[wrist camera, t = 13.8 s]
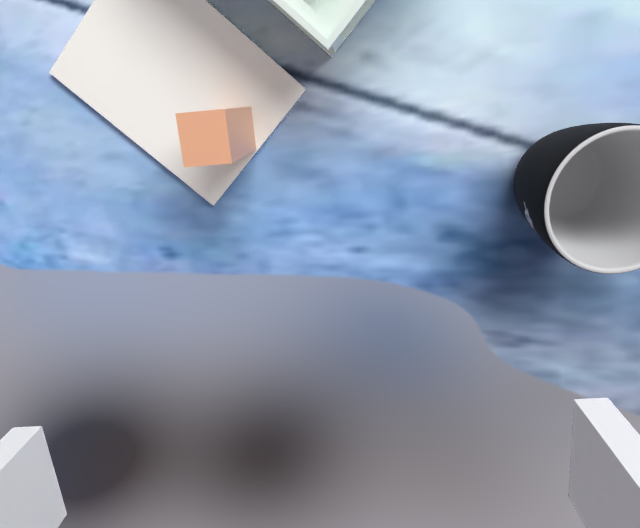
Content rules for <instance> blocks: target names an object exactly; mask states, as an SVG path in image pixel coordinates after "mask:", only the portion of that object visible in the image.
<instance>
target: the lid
mask: <svg viewBox="0 0 640 528" xmlns="http://www.w3.org/2000/svg"><path fill="white" fill-rule="evenodd" d="M49 73H50V74H51V75H53V76H54V77H55V78H56V79H58V80H59V81H60V82H61V83H63V84H64V85H65V86H66V87H67V88H69V89H70V90H71V91H72V92H74V93H75V94H76V95H77V96H79V97H80V98H81V99H82V100H84V101H85V102H86V103H87V104H88V105H90V106H91V107H92V108H93V109H95V110H96V111H97V112H98V113H100V114H101V115H102V116H103V117H104V118H106V119H107V120H108V121H109V122H111V123H112V124H113V125H114V126H116V127H117V128H118V129H119V130H121V131H122V132H123V133H124V134H125V135H127V136H128V137H129V138H130V139H132V140H133V141H134V142H135V143H137V144H138V145H139V146H140V147H141V148H143V149H144V150H145V151H146V152H148V153H149V154H150V155H151V156H153V157H154V158H155V159H156V160H158V161H159V162H160V163H161V164H162V165H164V166H165V167H166V168H167V169H169V170H170V171H171V172H172V173H174V174H175V175H176V176H177V177H178V178H180V179H181V180H182V181H183V182H185V183H186V184H187V185H188V186H190V187H191V188H192V189H193V190H194V191H196V192H197V193H198V194H199V195H201V196H202V197H203V198H204V199H206V200H207V201H208V202H209V203H211V204H212V205H213V206H214V205H215V204H216V203H217V201H218V200H219V199H220V198H221V196H222V195H223V194H224V193H225V191H226V190H227V189H228V188H229V186H230V185H231V184H232V183H233V181H234V180H235V179H236V178H237V176H238V175H239V174H240V172H241V171H242V170H243V169H244V167H245V166H246V165H247V164H248V162H249V161H250V160H251V159H252V157H253V156H254V155H255V154H256V152H257V151H258V150H259V149H260V147H261V146H262V145H263V143H264V142H265V141H266V140H267V138H268V137H269V136H270V135H271V133H272V132H273V131H274V130H275V128H276V127H277V126H278V125H279V123H280V122H281V121H282V119H283V118H284V117H285V116H286V114H287V113H288V112H289V111H290V109H291V108H292V107H293V106H294V104H295V103H296V102H297V101H298V99H299V98H300V97H301V96H302V94H303V93H304V92H305V90H306V89H305V88H304V87H303V86H302V85H301V84H300V83H299V82H298V81H296V80H295V79H294V78H293V77H292V76H291V75H290V74H289V73H287V72H286V71H285V70H284V69H283V68H282V67H281V66H279V65H278V64H277V63H276V62H275V61H274V60H273V59H272V58H270V57H269V56H268V55H267V54H266V53H265V52H264V51H263V50H261V49H260V48H259V47H258V46H257V45H256V44H255V43H254V42H252V41H251V40H250V39H249V38H248V37H247V36H246V35H244V34H243V33H242V32H241V31H240V30H239V29H238V28H237V27H235V26H234V25H233V24H232V23H231V22H230V21H229V20H228V19H226V18H225V17H224V16H223V15H222V14H221V13H220V12H219V11H217V10H216V9H215V8H214V7H213V6H212V5H211V4H209V3H208V2H207V1H206V0H94V2H93V3H92V5H91V7H90V8H89V10H88V11H87V13H86V15H85V16H84V18H83V19H82V21H81V22H80V24H79V26H78V27H77V29H76V30H75V32H74V34H73V35H72V37H71V38H70V40H69V42H68V43H67V45H66V46H65V48H64V50H63V51H62V53H61V54H60V56H59V58H58V59H57V61H56V62H55V64H54V65H53V67H52V69H51V70H50V72H49Z"/></svg>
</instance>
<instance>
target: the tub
mask: <svg viewBox="0 0 640 528" xmlns="http://www.w3.org/2000/svg"><path fill="white" fill-rule="evenodd" d="M268 1H269V2H270V3H271V4H272V5H273V6H275V7H276V8H277V9H278V10H279V11H280V12H281V13H282V14H284V15H285V16H286V17H287V18H288V19H289V20H290V21H291V22H293V23H294V24H295V25H296V26H297V27H298V28H299V29H300V30H301V31H303V32H304V33H305V34H306V35H307V36H308V37H309V38H310V39H312V40H313V41H314V42H315V43H316V44H317V45H318V46H319V47H321V48H322V49H323V50H324V51H325V52H326V53H327V54H328V55H330V56H331V57H332V56H333V55H334V54H335V52H336V51H337V50H338V49H339V47H340V46H341V45H342V43H343V42H344V41H345V40H346V38H347V37H348V36H349V34H350V33H351V32H352V31H353V29H354V28H355V27H356V25H357V24H358V23H359V22H360V20H361V19H362V18H363V16H364V15H365V14H366V13H367V11H368V10H369V9H370V7H371V6H372V5H373V4H374V2H375V1H376V0H268Z"/></svg>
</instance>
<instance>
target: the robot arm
mask: <svg viewBox="0 0 640 528" xmlns="http://www.w3.org/2000/svg"><path fill="white" fill-rule="evenodd" d="M570 459H571V460H570V476H569V494H568V496H569V498H570V499H571V501H572V503H573V505H574V507H575V509H576V511H577V512H578V514H579V516H580V518H581V520H582V521H583V523H584V525H585V527H586V528H640V435H639V434H638V433H637V432H636V430H635V429H634V428H633V427H632V426H631V424H630V423H629V422H628V421H627V420H626V419H625V417H624V416H623V415H622V414H621V413H620V412H619V410H618V409H617V408H616V407H615V406H614V405H613V403H612V402H611V401H610V400H609V399H608V398H593V399H574V407H573V425H572V441H571V458H570ZM66 515H67V513H66V509H65V506H64V502H63V499H62V495H61V492H60V488H59V485H58V481H57V478H56V474H55V471H54V467H53V464H52V461H51V457H50V453H49V450H48V447H47V443H46V439H45V436H44V432H43V429H42V426H36V427H16V428H12V429H11V430H10V431H9V432H8V433H7V434H6V435H5V436H4V437H3V438H2V439H1V440H0V528H58V527H59V525H60V524H61V522H62V521H63V519H64V517H65V516H66Z"/></svg>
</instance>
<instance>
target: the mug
mask: <svg viewBox="0 0 640 528" xmlns="http://www.w3.org/2000/svg"><path fill="white" fill-rule="evenodd" d="M514 193H515V198H516V201H517V204H518V206H519V209H520V210H521V212H522V214H523V216H524V217H525V219H526V220H527V222H528V223H529V225H530V226H531V227H532V228H533V230H534V231H535V232H536V233H537V234H538V235H539V237H540V238H541V239H542V240H543V241H544V242H545V243H546V244H547V245H548V246H549V247H551V248H552V249H553V250H554V251H555V252H556V253H557V254H559V255H560V256H561V257H563V258H564V259H565V260H567V261H568V262H570V263H572V264H573V265H575V266H577V267H579V268H582V269H585V270H588V271H591V272H596V273H602V274H618V273H625V272H630V271H634V270H637V269H640V124H632V123H599V124H587V125H580V126H574V127H570V128H566V129H562V130H559V131H556V132H553V133H551V134H549V135H547V136H545V137H543V138H541V139H540V140H538V141H537V142H536V143H535V144H533V145H532V146H531V147H530V148H529V149H528V150H527V151H526V153H525V154H524V155H523V157H522V158H521V160H520V162H519V164H518V166H517V169H516V172H515V177H514Z"/></svg>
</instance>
